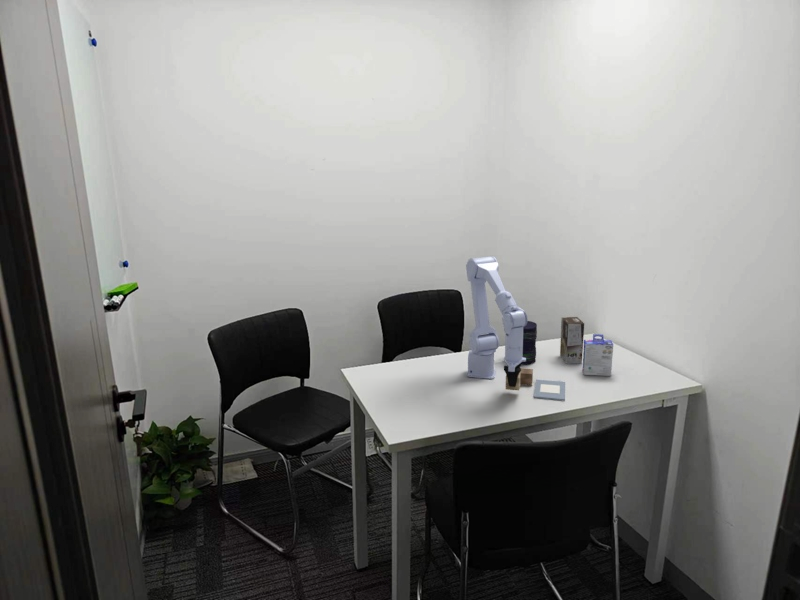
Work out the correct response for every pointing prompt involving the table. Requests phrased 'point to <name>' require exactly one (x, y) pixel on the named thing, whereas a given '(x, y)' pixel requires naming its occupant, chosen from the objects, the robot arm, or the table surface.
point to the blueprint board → (550, 390)
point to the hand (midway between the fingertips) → (512, 383)
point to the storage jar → (529, 343)
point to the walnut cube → (526, 376)
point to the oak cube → (516, 384)
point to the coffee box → (572, 339)
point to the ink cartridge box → (597, 356)
